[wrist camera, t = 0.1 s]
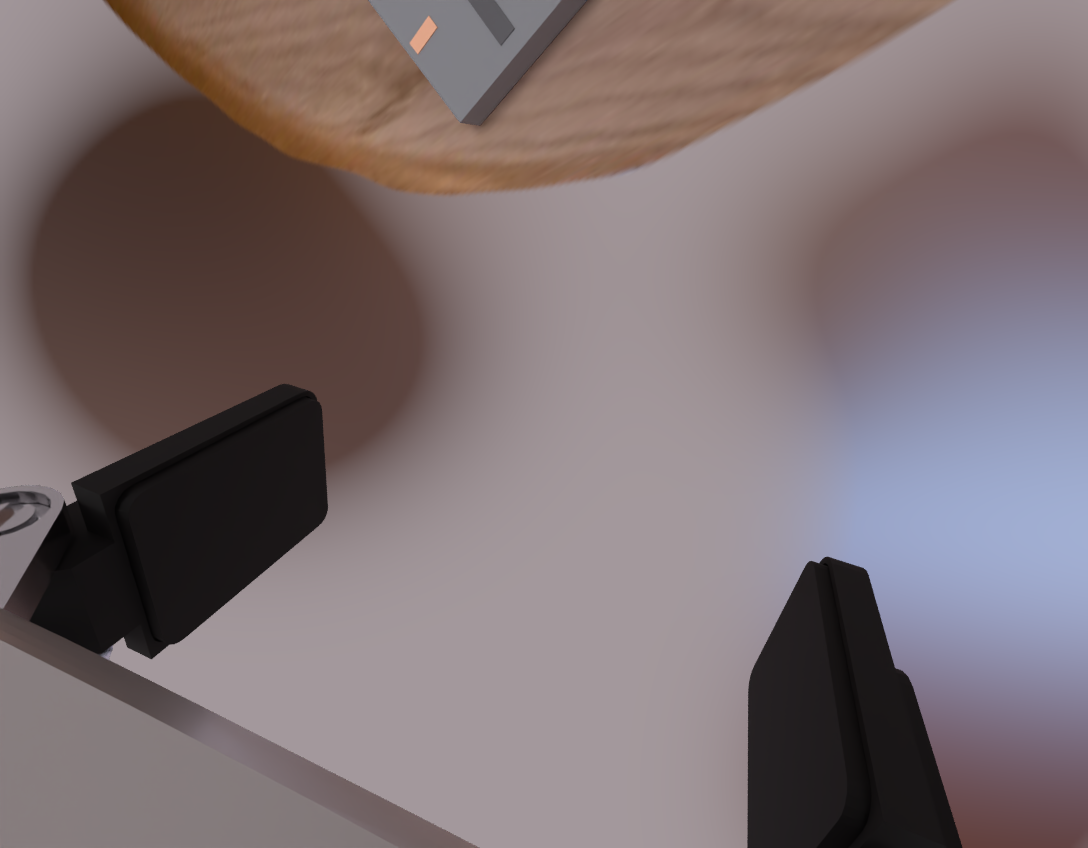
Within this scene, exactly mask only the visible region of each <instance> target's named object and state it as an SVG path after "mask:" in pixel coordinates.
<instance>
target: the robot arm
mask: <svg viewBox="0 0 1088 848" xmlns="http://www.w3.org/2000/svg"><path fill="white" fill-rule="evenodd" d="M325 470H326V469H325V453H324V436H323V420H322V408H321V405H320V403H319V402H318V401H317V398H316V397H315V395H314V394H313V393H312V392H310V391H308V390H305V389H301V388H298V387H295V386H292V385H289V384H282V385H278V386H277V387H274V388H272V389H270V390H268V391H266V392H264V393H261V394H259V395H257V396H255V397H253V398H251V399H249V400H247V401H245V402H242V403H240V404H238V405H236V406H234V407H232V408H230V409H227V410H225V411H223V412H221V413H219V414H217V415H215V416H213V417H210V418H208V419H206V420H204V421H202V422H200V423H198V424H195V425H193V426H191V427H189V428H187V429H185V430H183V431H181V432H178V433H176V434H174V435H172V436H170V437H168V438H166V439H164V440H162V441H160V442H157V443H155V444H153V445H151V446H149V447H147V448H144V449H142V450H140V451H138V452H136V453H134V454H132V455H129V456H127V457H125V458H123V459H121V460H119V461H117V462H115V463H112V464H110V465H108V466H106V467H104V468H102V469H100V470H98V471H95V472H93V473H91V474H89V475H87V476H85V477H83V478H81V479H79V480H76V481H74V482H72V483H71V484H72V487H73V490H74V493H75V495H76V498H77V501H76V502H74V503H72V504H70V505H68V506H66V503H65V501H64V498H63V497H62V495H61V493H60V492H58V491H56V490H54V489H52V488H48V487H43V486H37V485H36V486H34V485H32V486H14V487H7V488H1V489H0V848H479V847H477V846H475V845H473V844H471V843H469V842H467V841H465V840H463V839H461V838H460V837H458V836H456V835H454V834H452V833H450V832H448V831H446V830H444V829H442V828H440V827H438V826H436V825H434V824H432V823H430V822H428V821H426V820H424V819H422V818H420V817H419V816H417V815H415V814H413V813H411V812H409V811H407V810H405V809H403V808H401V807H399V806H397V805H395V804H393V803H391V802H389V801H387V800H385V799H384V798H381V797H380V796H378V795H376V794H373V793H371V792H370V791H368V790H366V789H364V788H362V787H360V786H358V785H356V784H354V783H352V782H350V781H348V780H346V779H344V778H342V777H340V776H338V775H336V774H334V773H332V772H330V771H328V770H326V769H324V768H322V767H320V766H318V765H316V764H314V763H312V762H311V761H308V760H307V759H305V758H303V757H301V756H299V755H297V754H295V753H293V752H291V751H288V750H287V749H285V748H283V747H281V746H279V745H277V744H275V743H273V742H271V741H269V740H267V739H265V738H263V737H261V736H259V735H257V734H255V733H253V732H251V731H249V730H247V729H245V728H243V727H241V726H239V725H237V724H235V723H233V722H231V721H229V720H227V719H226V718H224V717H222V716H220V715H218V714H216V713H214V712H211V711H210V710H208V709H205V708H204V707H202V706H200V705H198V704H196V703H194V702H192V701H190V700H188V699H186V698H184V697H181V696H180V695H178V694H176V693H173V692H171V691H170V690H168V689H166V688H164V687H162V686H160V685H158V684H156V683H154V682H152V681H150V680H148V679H146V678H144V677H141V676H140V675H138V674H136V673H133V672H132V671H130V670H128V669H125V668H124V667H122V666H119V665H118V664H115V663H113V662H111V661H110V660H109V657H110V655H111V652H112V649H113V645H114V644H115V643H116V642H117V641H119V640H120V639H121V638H123V637H124V639H125V642H126V645H127V647H128V648H130V649H132V650H134V651H136V652H138V653H140V654H142V655H144V656H146V657H148V658H150V659H152V658H153V657H155V656H156V655H157V654H158V653H160V652H161V651H162V650H163V649H165V648H166V647H167V646H168V645H169V644H175V643H178V642H180V641H181V640H183V639H184V638H185V637H186V636H188V635H189V634H190V633H191V632H193V631H194V630H195V629H196V628H197V627H199V626H200V625H201V624H202V623H203V622H205V621H206V620H207V619H208V618H209V617H210V616H211V615H213V614H214V613H215V612H216V611H218V610H219V609H220V608H221V607H222V606H224V605H225V604H226V603H227V602H228V601H229V600H231V599H232V598H233V597H234V596H235V595H237V594H238V593H239V592H240V591H241V590H242V589H244V588H245V587H246V586H247V585H249V584H250V583H251V582H252V581H253V580H255V579H256V578H257V577H258V576H259V575H260V574H262V573H263V572H264V571H265V570H267V569H268V568H269V567H270V566H271V565H273V564H274V563H275V562H276V561H277V560H278V559H280V558H281V557H282V556H283V555H284V554H286V553H287V552H288V551H289V550H290V549H292V548H293V547H294V546H295V545H296V544H298V543H299V542H300V541H301V540H302V539H303V538H305V537H306V536H307V535H308V534H309V533H311V532H312V531H313V530H314V529H315V528H316V527H318V526H319V525H320V524H321V523H322V522H323V520H324V519H325V517H326V514H327V511H328V503H327V485H326V471H325ZM748 690H749V691H748V848H962V845H961V841H960V838H959V835H958V832H957V828H956V825H955V822H954V819H953V815H952V812H951V809H950V806H949V803H948V800H947V796H946V793H945V790H944V786H943V783H942V780H941V777H940V774H939V770H938V767H937V764H936V761H935V757H934V754H933V751H932V747H931V744H930V741H929V738H928V734H927V731H926V728H925V725H924V722H923V718H922V715H921V712H920V709H919V706H918V702H917V699H916V696H915V692H914V689H913V686H912V684H911V682H910V680H909V677H908V676H907V675H906V674H905V673H904V672H903V671H901V670H899V669H896V668H895V667H894V663H893V660H892V656H891V652H890V649H889V646H888V642H887V639H886V635H885V632H884V628H883V624H882V621H881V618H880V614H879V610H878V607H877V604H876V600H875V597H874V593H873V589H872V586H871V583H870V579H869V575H868V573H867V571H866V570H865V569H864V568H861V567H858V566H855V565H852V564H849V563H846V562H843V561H839V560H836V559H833V558H830V557H825V558H823V559H822V560H821V562H820V563H816V562H813V561H809V562H808V563H807V565H806V566H805V568H804V570H803V572H802V574H801V576H800V578H799V580H798V582H797V584H796V585H795V587H794V589H793V591H792V593H791V595H790V597H789V599H788V601H787V603H786V605H785V607H784V609H783V611H782V613H781V615H780V617H779V619H778V621H777V622H776V625H775V627H774V629H773V631H772V632H771V634H770V636H769V638H768V640H767V642H766V644H765V646H764V648H763V650H762V652H761V654H760V656H759V658H758V660H757V662H756V663H755V665H754V668H753V670H752V673H751V676H750V681H749V689H748Z"/></svg>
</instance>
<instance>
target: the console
mask: <svg viewBox="0 0 1088 848" xmlns="http://www.w3.org/2000/svg"><path fill="white" fill-rule="evenodd" d="M368 1H369V2H370V3H371V5H372V6H373V7H374V9H375V10H376V11H377V13H378V14H379V15H380V17H381V18H382V19H383V21H384V22H385V23H386V25H387V26H388V27H389V29H390V30H391V31H392V33H393V34H394V35H395V37H396V38H397V39H398V41H399V42H400V43H401V45H402V46H403V47H404V49H405V50H406V51H407V53H408V54H409V55H410V57H411V58H412V59H413V61H414V62H415V63H416V65H417V66H418V67H419V69H420V70H421V71H422V73H423V74H424V75H425V77H426V78H427V79H428V81H429V82H430V83H431V85H432V86H433V87H434V89H435V90H436V91H437V93H438V94H439V95H440V97H441V98H442V99H443V101H444V102H445V103H446V105H447V106H448V107H449V109H450V110H451V111H452V113H453V114H454V115H455V117H456V118H457V119H458V121H459V122H460V123H465V124H472V125H481V124H482V123H483V121H484V120H485V119H486V118H487V117H488V116H489V114H490V113H491V112H492V111H493V110H494V109H495V107H496V106H497V105H498V104H499V103H500V102H501V100H502V99H503V98H504V97H505V96H506V95H507V93H508V92H509V91H510V90H511V89H512V88H513V86H514V85H515V84H516V83H517V82H518V81H519V79H520V78H521V77H522V76H523V75H524V74H525V72H526V71H527V70H528V69H529V68H530V67H531V65H532V64H533V63H534V62H535V61H536V60H537V58H538V57H539V56H540V55H541V54H542V53H543V51H544V50H545V49H546V48H547V47H548V45H549V44H550V43H551V42H552V41H553V40H554V38H555V37H556V36H557V35H558V34H559V33H560V31H561V30H562V29H563V28H564V27H565V26H566V24H567V23H568V22H569V21H570V20H571V19H572V17H573V16H574V15H575V14H576V13H577V12H578V10H579V9H580V8H581V7H582V6H583V5H584V3H585V2H586V1H587V0H368Z"/></svg>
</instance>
